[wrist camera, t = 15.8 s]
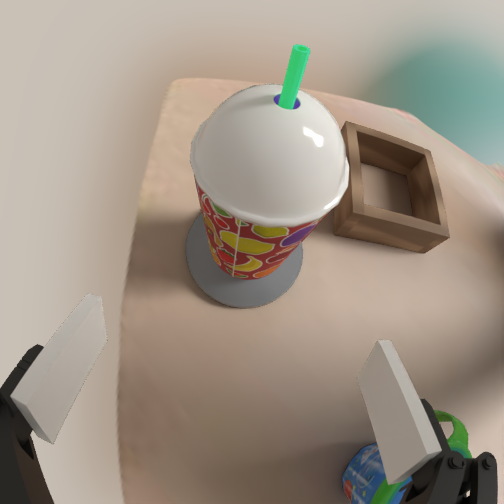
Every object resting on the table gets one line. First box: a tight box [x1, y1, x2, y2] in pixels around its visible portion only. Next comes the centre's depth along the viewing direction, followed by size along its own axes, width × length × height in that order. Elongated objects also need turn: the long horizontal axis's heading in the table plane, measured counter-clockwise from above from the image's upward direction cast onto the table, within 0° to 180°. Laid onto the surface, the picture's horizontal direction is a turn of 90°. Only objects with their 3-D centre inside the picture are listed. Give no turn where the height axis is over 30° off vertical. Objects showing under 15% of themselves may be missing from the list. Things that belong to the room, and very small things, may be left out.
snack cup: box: [342, 410, 472, 504], centre depth 16 cm, size 16×10×10 cm
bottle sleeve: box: [334, 121, 450, 253], centre depth 30 cm, size 12×12×5 cm
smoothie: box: [190, 45, 349, 280], centre depth 18 cm, size 8×8×20 cm
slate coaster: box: [186, 213, 303, 308], centre depth 27 cm, size 11×11×1 cm
